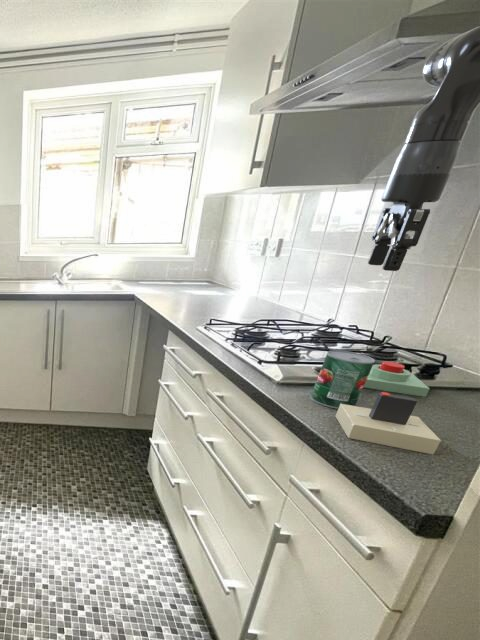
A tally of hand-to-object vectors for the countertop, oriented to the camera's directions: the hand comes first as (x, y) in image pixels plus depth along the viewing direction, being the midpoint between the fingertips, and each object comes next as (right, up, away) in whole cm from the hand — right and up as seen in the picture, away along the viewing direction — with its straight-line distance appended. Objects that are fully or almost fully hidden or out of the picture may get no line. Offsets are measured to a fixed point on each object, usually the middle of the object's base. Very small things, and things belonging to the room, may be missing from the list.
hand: (381, 267), depth 79 cm
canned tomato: (+3, -27, +14) cm, 30 cm away
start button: (+24, -19, +22) cm, 38 cm away
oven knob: (+1, -29, 0) cm, 29 cm away
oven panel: (+1, -32, +1) cm, 32 cm away
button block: (+24, -22, +23) cm, 40 cm away
